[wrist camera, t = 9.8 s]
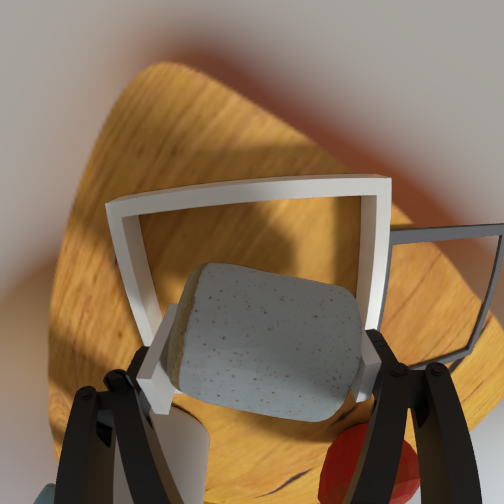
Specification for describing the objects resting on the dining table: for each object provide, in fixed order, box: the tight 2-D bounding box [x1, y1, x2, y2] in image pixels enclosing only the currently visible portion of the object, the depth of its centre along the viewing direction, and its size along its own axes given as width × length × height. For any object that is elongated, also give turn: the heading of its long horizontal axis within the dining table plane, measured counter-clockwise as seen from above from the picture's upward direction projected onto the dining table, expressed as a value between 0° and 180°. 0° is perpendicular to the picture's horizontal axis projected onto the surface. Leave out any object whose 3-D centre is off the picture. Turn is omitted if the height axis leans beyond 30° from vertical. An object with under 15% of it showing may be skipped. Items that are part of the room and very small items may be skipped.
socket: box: [105, 174, 391, 394], centre depth 19 cm, size 17×18×2 cm
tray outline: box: [377, 223, 504, 370], centre depth 20 cm, size 16×16×1 cm
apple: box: [318, 423, 420, 504], centre depth 20 cm, size 12×12×14 cm
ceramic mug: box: [167, 263, 362, 422], centre depth 14 cm, size 11×8×8 cm
